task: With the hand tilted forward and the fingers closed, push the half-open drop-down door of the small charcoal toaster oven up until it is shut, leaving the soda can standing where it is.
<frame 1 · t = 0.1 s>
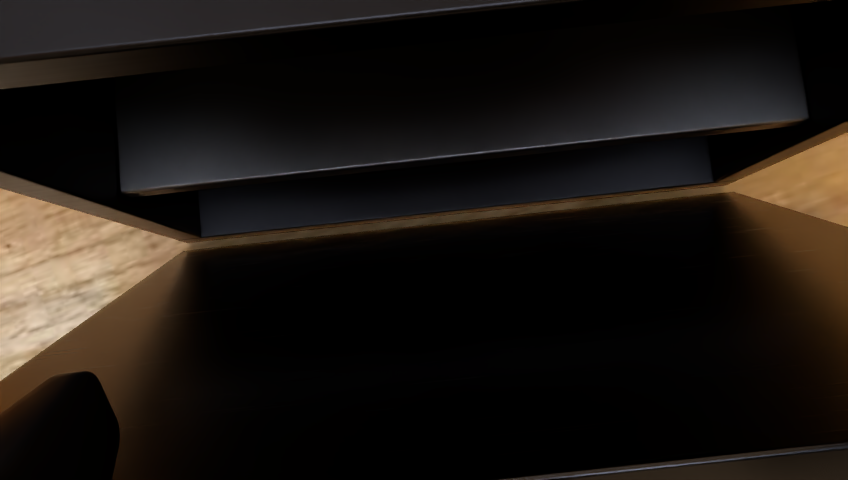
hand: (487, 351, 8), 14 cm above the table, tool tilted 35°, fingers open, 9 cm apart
oven door: (491, 374, 15), point 7 cm above the table, hinge at 18.9°, touching gripper
oven: (437, 40, 23), on the table
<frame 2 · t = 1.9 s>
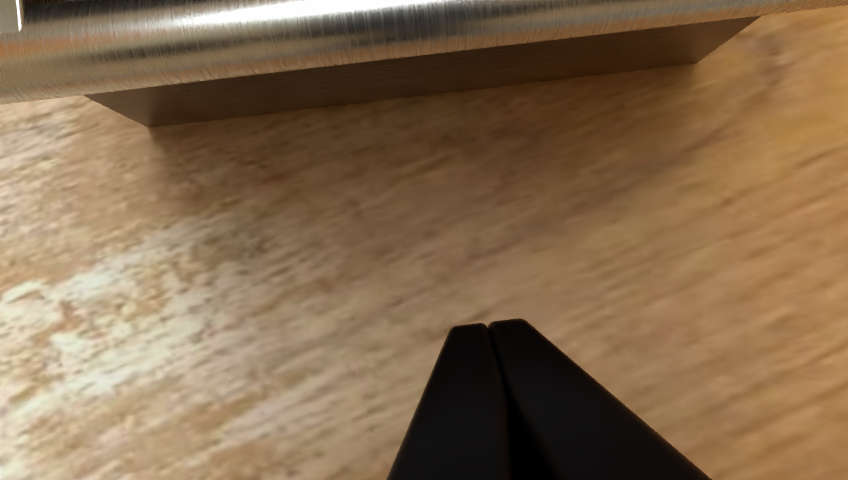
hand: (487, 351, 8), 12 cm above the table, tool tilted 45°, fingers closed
oven door: (426, 33, 14), point 7 cm above the table, hinge at 13.1°
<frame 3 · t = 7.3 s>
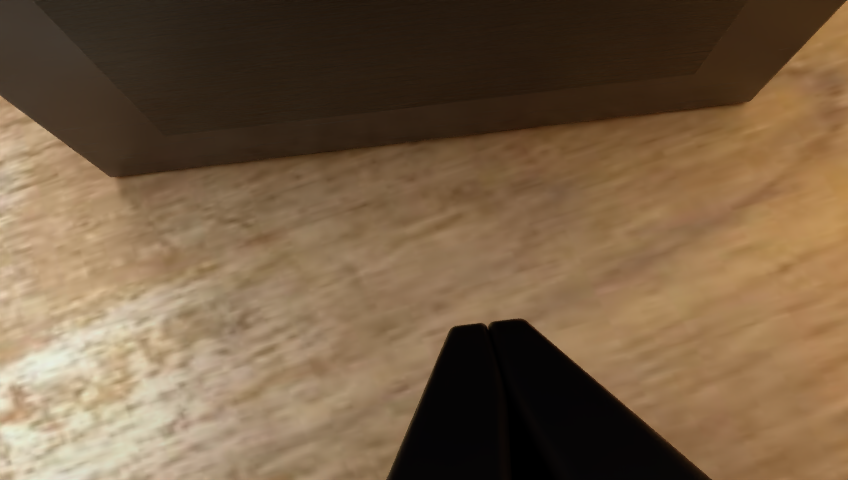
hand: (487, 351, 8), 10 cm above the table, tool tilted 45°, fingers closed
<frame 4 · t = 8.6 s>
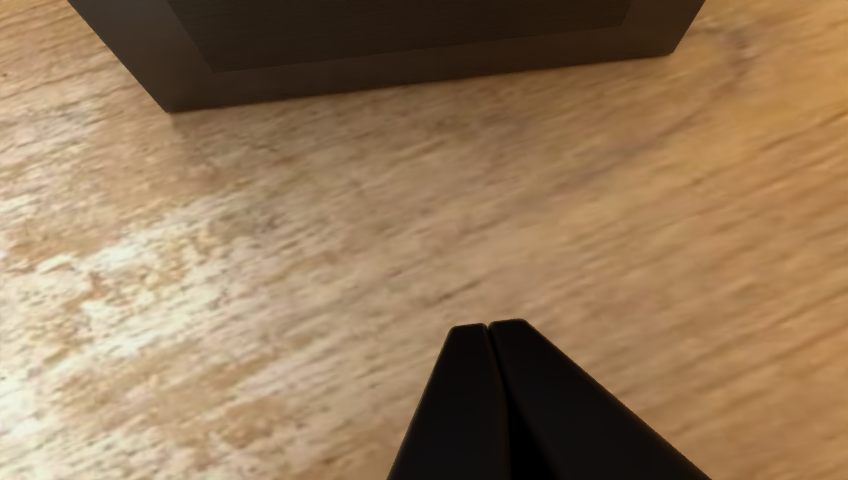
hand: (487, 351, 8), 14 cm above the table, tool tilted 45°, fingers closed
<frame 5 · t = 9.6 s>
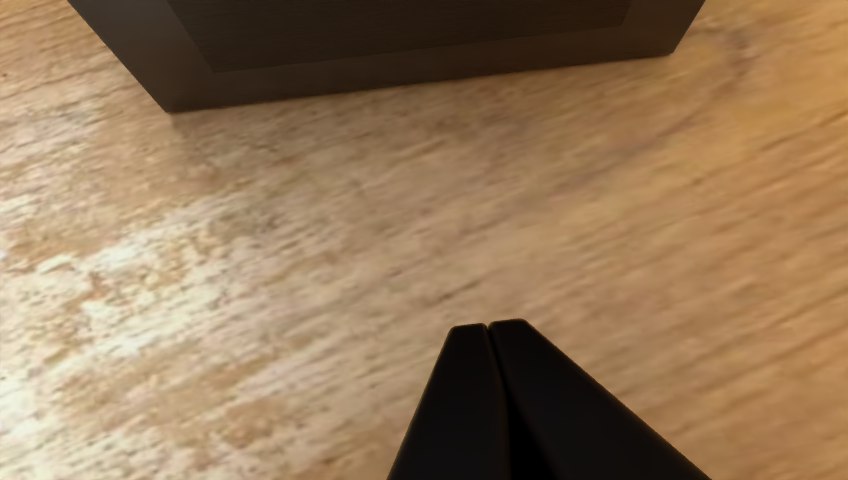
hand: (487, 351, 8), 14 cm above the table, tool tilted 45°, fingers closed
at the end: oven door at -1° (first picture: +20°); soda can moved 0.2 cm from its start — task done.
